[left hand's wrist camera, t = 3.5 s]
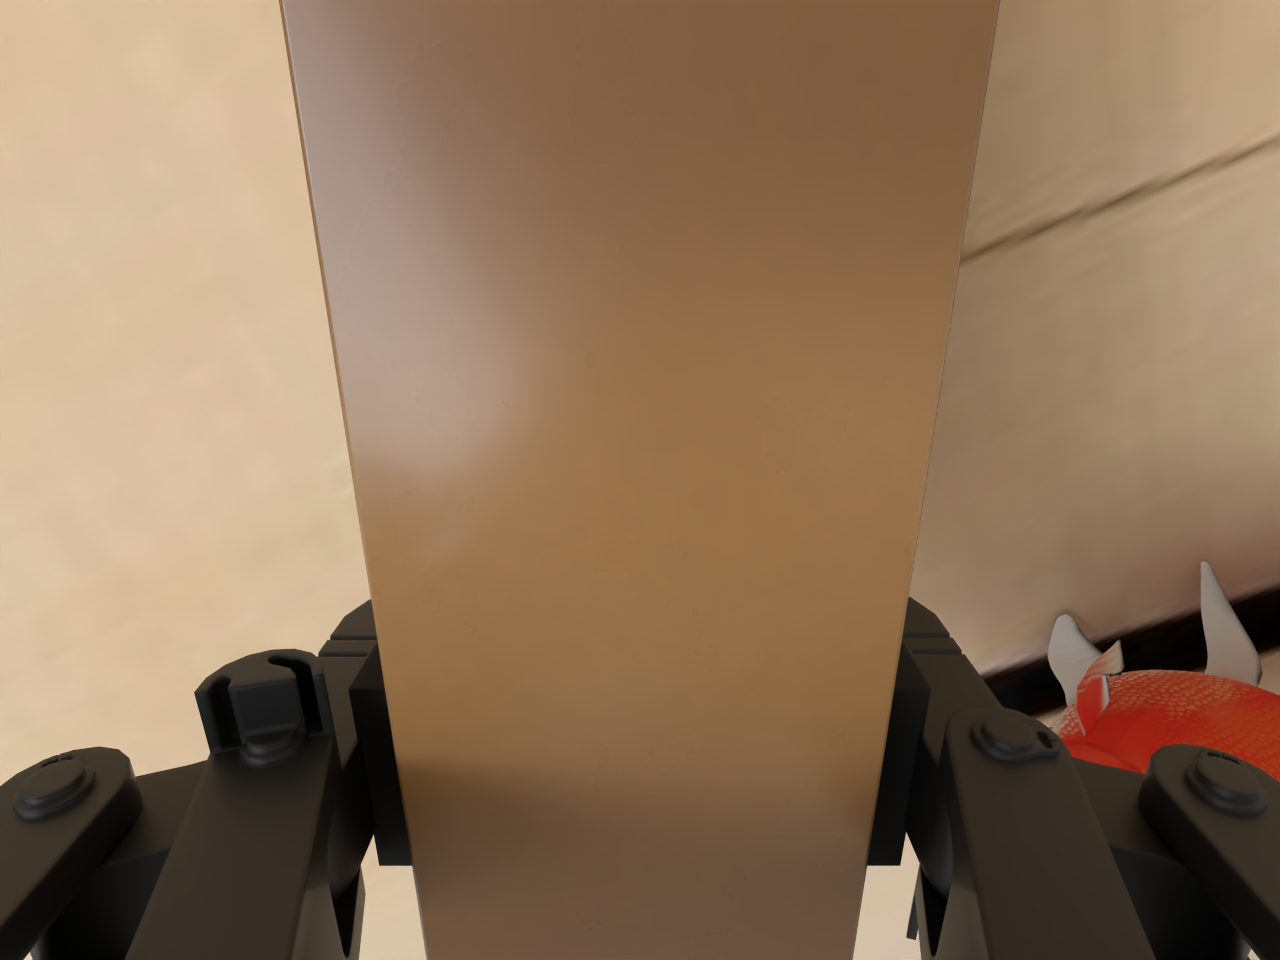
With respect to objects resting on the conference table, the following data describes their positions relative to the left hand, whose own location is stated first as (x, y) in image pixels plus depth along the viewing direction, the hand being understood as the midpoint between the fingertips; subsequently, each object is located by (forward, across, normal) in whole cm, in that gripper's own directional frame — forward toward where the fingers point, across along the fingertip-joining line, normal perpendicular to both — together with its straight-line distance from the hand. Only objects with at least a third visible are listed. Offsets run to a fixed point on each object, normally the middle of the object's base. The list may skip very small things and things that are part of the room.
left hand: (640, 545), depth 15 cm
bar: (+1, 0, -8) cm, 8 cm away
